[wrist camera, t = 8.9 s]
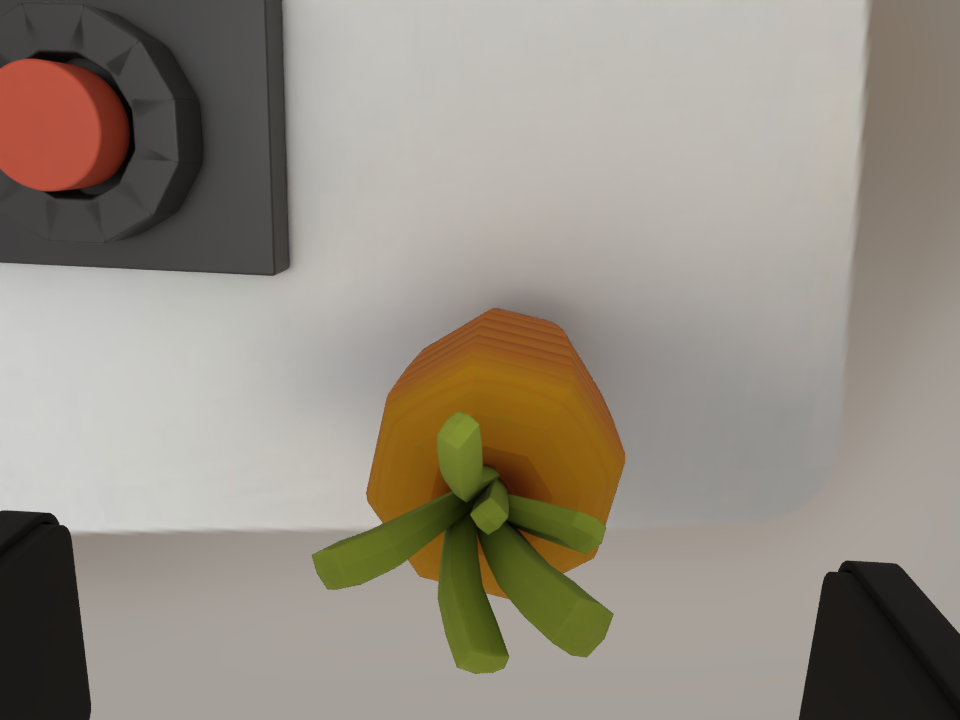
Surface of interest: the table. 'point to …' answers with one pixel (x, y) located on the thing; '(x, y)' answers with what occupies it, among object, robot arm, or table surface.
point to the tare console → (163, 137)
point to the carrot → (492, 485)
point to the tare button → (59, 126)
